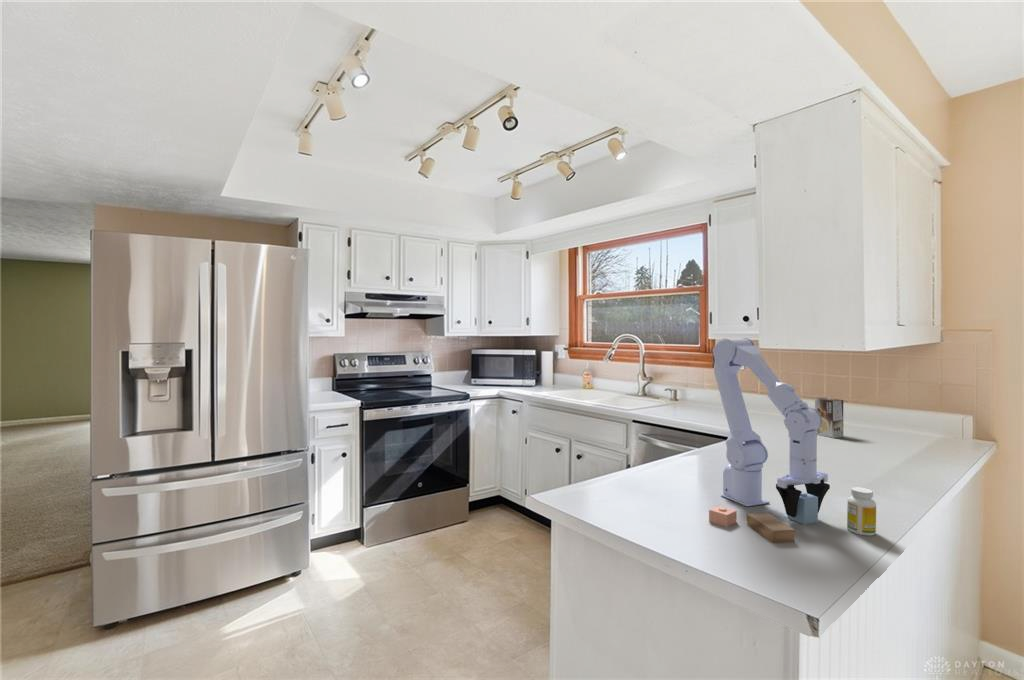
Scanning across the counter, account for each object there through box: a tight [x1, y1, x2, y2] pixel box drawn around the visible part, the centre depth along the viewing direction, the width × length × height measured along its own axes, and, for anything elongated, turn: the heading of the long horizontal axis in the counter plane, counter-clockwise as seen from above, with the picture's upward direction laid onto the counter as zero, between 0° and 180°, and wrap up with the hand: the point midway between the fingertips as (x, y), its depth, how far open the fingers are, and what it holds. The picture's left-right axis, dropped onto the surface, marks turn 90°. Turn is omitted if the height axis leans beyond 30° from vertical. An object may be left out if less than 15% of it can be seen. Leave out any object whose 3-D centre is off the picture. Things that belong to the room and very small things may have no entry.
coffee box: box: [814, 397, 844, 439], centre depth 212 cm, size 9×6×16 cm
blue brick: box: [787, 491, 819, 525], centre depth 119 cm, size 4×4×6 cm
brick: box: [708, 505, 738, 528], centre depth 118 cm, size 4×4×3 cm
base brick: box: [746, 512, 796, 544], centre depth 111 cm, size 10×5×3 cm, turn 4°
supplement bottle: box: [846, 486, 877, 536], centre depth 111 cm, size 5×5×10 cm
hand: (802, 513), depth 119 cm, fingers open, 7 cm apart
